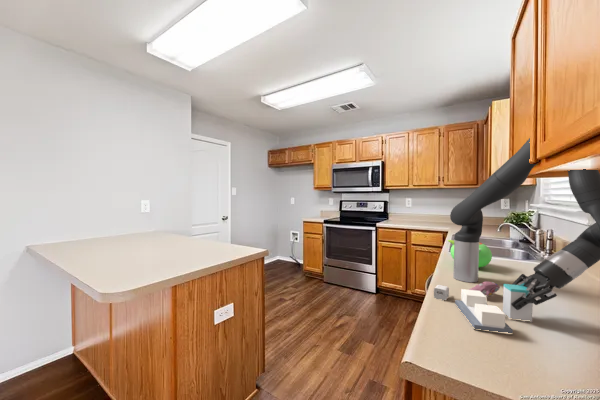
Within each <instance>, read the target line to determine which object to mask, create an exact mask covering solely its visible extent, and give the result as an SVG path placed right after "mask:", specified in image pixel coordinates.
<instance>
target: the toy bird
mask: <svg viewBox="0 0 600 400" xmlns="http://www.w3.org/2000/svg"><path fill="white" fill-rule="evenodd" d="M447 242H448V243H450V244H452V245H451V248H450V256H451V258H452V259H453V260H454V239H447ZM492 259H493V254H492V250H490V247H489V246H487V245H486V244H484V243H482V242H480V241H479V268H483V267H486V266H488V265H489V264H490V263H491V261H492Z"/></svg>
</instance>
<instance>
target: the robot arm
mask: <svg viewBox="0 0 600 400" xmlns="http://www.w3.org/2000/svg"><path fill="white" fill-rule="evenodd" d="M529 142H530V137H529V138H528V139H527V140H526V141H525V142H524V144H523V145H522V146H521V147H520V148H519V149H518V150H517V151H516V152H515V153H514V154H513V155H512V156H510V158H509V159H507V161H505V162H504V163H503V164H502V165H501V166H500V167H499V168H497V169H496V170H495V172H493V173H492V174H491V175H490V176H489V177H488V178H487V179H485V181H484V182H483V183H482V184H481V185H480V186H478V187H477V188H476V189H475V190H473V192H472V193H471V194H469V196H467V197H466V198H464V199H463V200H462V201H461V202H459V203H458V204H457V205H455V206H453V208H452V210H451V211H450V214H449V216H450V220H451V221H450V222H452V223H453V224H454V225H457V226H461V228H460V230H459V231H457V232H455V233H454V236H453V237H454V239H453V241H454V259H453V278H454V279H455V280H457V281H461V282H466V283H477V282H479V268H480V267H479V242H480V238H481V236H482V235H483V234H482V232H483V223H484V214H483V211H482V209H484V208H486V207H487V206H490V205H492V204H494V203H496V202H498V201H501V200H502V199H504V198H506V197H508V196H509V195H511V194H512V193H513V192H515V190H517V189H518V188H520V187H521V186H522V185H523V184H524V183H525V182H526V180H527V179H528V177H529V175H530V173H531V171H532V170H533V169H534V167H535V166H536V165H537V164H530V163H529V159H530V143H529ZM567 175H568V184H569V187H570V191H571V192H572V195H573V197H574V198H575V200H576V202H577V204H578V206H579V208H580V209H581V211H582V212H584V213H585V214H589V215H590V216H591V218H592V219H593V220H594V222H595V223H592V224H591V225H590V226H588V227H587V228H585V230H583V231H582V233H580V234H579V235H578V236H577V237H576V238H575V239H574V240H572V241H571V242H569V243H568V244H566V245H565V246H563V248H561V249H560V250H558V251H556V252H554V253H552V254H550V255H549V256H548V257H547V258H545V259H544V260H543V261H541V262H540V263H539V264H537V265H535V266H534V267H533V271H534V273H533V274H530V275H528V276H527V275H526V274H524V273H521V274H520V275H519V276H518V277H517V278H516V280H515V281H513V283H512V284H511V285H519V286H525V287H527V289H526V290H527V292H526V293H525V294H524V295H523V296H522V297H523V298H522V297H520V298H518V299H517V300H516V301H514V302H513V303H511V305H512V306H513V307H514V308H515V309H516V310H519V309H521V308H522V307H524V306H525V305H527V304H528V303H529V304H532V303H533V304H534V305H535V306H538V305H540V304H542V303H544V302H547V301H549V300H552V299H554V298H556V297H557V296H558V295H557V293H556V292H555V291H553V290H554V288H556V289H560V290H561V289H562V288H563V287H565V286H566V285H568V284H569V283H571V282H572V281H574V280H575V279H576V278H579V276H581V275H582V274H584V273H585V271H587V270H588V269H590V267H592V266H594V265H595V264H597V263H598V262H599V261H600V171H599V169H598V170H586V169H583V170H570V171H568V170H567ZM530 294H531V295H530ZM529 295H530V296H529Z"/></svg>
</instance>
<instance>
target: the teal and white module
mask: <svg viewBox="0 0 600 400" xmlns="http://www.w3.org/2000/svg"><path fill="white" fill-rule="evenodd" d="M526 289H527V287H525V286H519V285H518V284H517V285H512V284H509V283H503V291H502V292H503V296H502V312H504V313H505V314H506V315H507V316H508V317H509V318H512V319H521V320H530V321H532V322H533V304H534V303H532V304H529V303H528V304H527V305H525V306H524V307H522V308H521V309H519V310H516V309H515V308H514V307H513V306H512V305H511V303H513V302H514V301H516V300H517V299H518V298H520V297H522V296H523V295H524V294H525V293H526V292H527V290H526ZM530 295H531V294H530ZM530 295H529V296H530ZM522 298H523V297H522ZM507 316H506V317H507ZM508 317H507V318H508ZM509 318H508V319H509Z"/></svg>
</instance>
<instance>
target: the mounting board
mask: <svg viewBox="0 0 600 400" xmlns="http://www.w3.org/2000/svg"><path fill="white" fill-rule="evenodd" d="M460 290H461V291H460V292H461V293H460V299H459V300H458V299H455V300H454V305H455V304H456V305H457V306H458V307H457V306H456V305H455V306H456V307H457V309H458V308H459V309H460V310H461V311H460V310H459V309H458V310H459V311H460V313H461V312H462V313H463V314H464V315H465V316H466V318H467V319H468V320H469V322H470V323H471V324H472V326H473V327H474V328H475V329H481V330H489V331H498V332H508V333H514V332H513V331H514V329H513V328H512V327H511V326H509V325H508V324H507V322H506V318H507V316H506V314H505V313H504V312H503V310H501V308H499V307H498V306H497V305H491V304H487V301H488V300H487V297H488V296H487V295H484V294H483V293H482V292H481V291H476V290H469V289H464V288H460ZM462 313H461V314H462ZM463 314H462V315H463ZM464 315H463V316H464ZM466 318H465V319H466ZM467 319H466V320H467ZM469 322H468V323H469ZM472 326H471V327H472Z"/></svg>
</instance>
